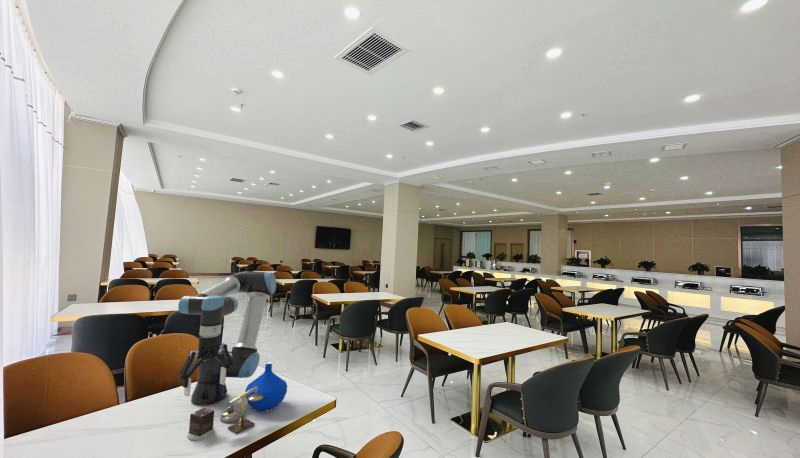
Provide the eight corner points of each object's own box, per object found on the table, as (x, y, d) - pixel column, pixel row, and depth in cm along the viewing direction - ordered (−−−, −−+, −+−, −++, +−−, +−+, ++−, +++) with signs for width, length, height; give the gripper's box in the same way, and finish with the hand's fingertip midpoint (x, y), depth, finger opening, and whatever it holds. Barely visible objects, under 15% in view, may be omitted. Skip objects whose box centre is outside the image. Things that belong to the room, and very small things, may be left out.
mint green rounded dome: (182, 435, 125) (182, 432, 125) (206, 425, 133) (206, 422, 133) (194, 443, 120) (194, 440, 120) (218, 432, 128) (218, 430, 128)
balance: (216, 434, 127) (220, 395, 128) (255, 417, 141) (258, 382, 142) (225, 439, 124) (228, 400, 125) (264, 421, 138) (266, 386, 139)
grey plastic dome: (216, 419, 138) (216, 416, 138) (236, 410, 146) (236, 408, 146) (227, 425, 133) (228, 423, 133) (248, 417, 141) (248, 414, 141)
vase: (234, 410, 146) (238, 367, 147) (264, 395, 163) (267, 356, 164) (266, 419, 139) (270, 374, 141) (294, 402, 156) (297, 362, 158)
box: (213, 429, 128) (215, 410, 129) (199, 437, 123) (201, 417, 123) (202, 425, 130) (204, 407, 131) (188, 433, 125) (190, 413, 125)
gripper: (180, 343, 117) (174, 404, 116) (244, 331, 138) (240, 381, 137) (170, 339, 121) (165, 398, 120) (234, 328, 142) (230, 377, 141)
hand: (205, 389), depth 128 cm, fingers open, 13 cm apart
